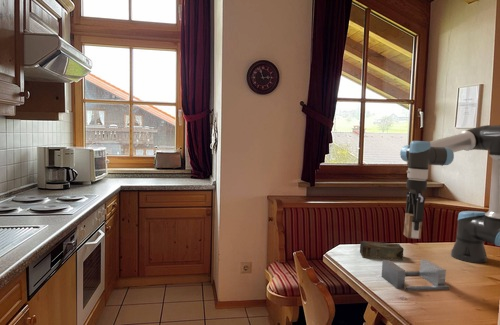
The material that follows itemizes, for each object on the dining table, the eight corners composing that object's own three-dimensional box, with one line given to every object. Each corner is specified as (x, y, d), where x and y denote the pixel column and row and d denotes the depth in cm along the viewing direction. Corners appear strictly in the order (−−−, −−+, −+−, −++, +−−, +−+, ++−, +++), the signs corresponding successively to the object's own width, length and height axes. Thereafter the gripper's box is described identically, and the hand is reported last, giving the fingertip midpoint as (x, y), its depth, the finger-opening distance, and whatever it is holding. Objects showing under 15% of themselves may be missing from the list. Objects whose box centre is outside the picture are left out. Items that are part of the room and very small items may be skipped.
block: (403, 234, 155) (405, 213, 155) (415, 235, 155) (417, 214, 155) (407, 237, 150) (409, 215, 150) (420, 238, 150) (422, 216, 150)
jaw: (426, 275, 158) (427, 259, 158) (444, 287, 147) (446, 269, 146) (419, 275, 158) (420, 259, 157) (437, 287, 146) (438, 270, 146)
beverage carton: (403, 260, 177) (404, 247, 177) (362, 258, 179) (362, 244, 178) (398, 255, 185) (399, 242, 185) (358, 253, 187) (359, 240, 186)
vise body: (424, 273, 161) (425, 257, 160) (449, 289, 145) (450, 271, 144) (379, 274, 158) (380, 258, 157) (399, 291, 142) (401, 273, 141)
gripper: (399, 176, 160) (395, 229, 162) (416, 181, 142) (410, 241, 144) (417, 177, 160) (413, 231, 162) (436, 182, 142) (430, 243, 144)
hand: (412, 235), depth 153 cm, fingers closed on block, 5 cm apart
